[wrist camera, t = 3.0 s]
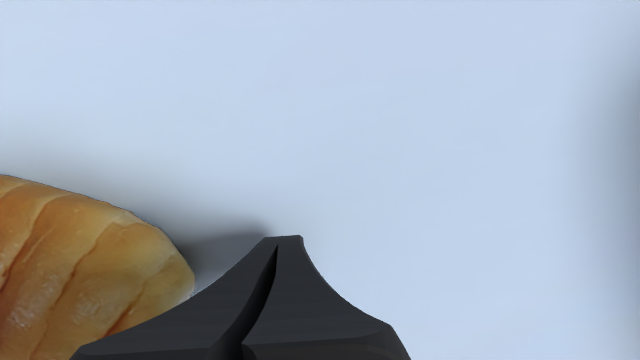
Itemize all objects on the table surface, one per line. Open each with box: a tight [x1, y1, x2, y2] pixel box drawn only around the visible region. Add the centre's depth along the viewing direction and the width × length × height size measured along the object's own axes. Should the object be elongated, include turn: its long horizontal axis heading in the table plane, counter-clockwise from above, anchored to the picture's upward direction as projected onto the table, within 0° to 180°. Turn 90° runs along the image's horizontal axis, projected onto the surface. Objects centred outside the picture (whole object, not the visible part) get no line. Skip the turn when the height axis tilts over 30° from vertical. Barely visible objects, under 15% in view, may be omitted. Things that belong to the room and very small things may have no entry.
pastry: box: [0, 175, 195, 360], centre depth 12 cm, size 9×7×4 cm
